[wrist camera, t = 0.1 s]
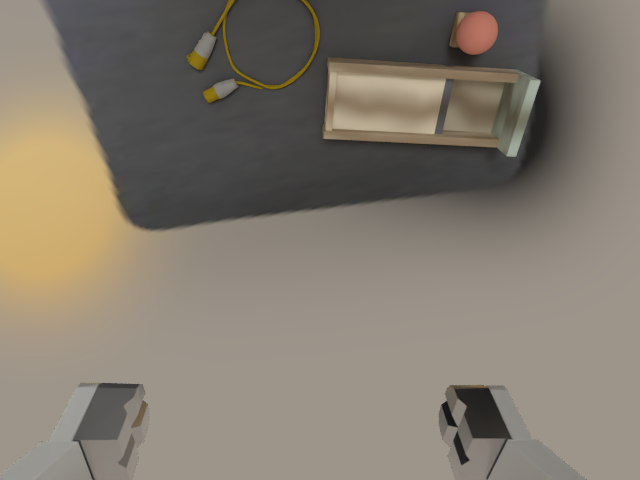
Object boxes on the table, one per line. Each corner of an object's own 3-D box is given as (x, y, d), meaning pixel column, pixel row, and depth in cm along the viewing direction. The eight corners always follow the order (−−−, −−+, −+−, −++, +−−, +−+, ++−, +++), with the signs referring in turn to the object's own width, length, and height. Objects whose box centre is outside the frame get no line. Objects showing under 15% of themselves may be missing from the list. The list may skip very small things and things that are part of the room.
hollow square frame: (456, 11, 50) (459, 12, 49) (486, 13, 50) (490, 14, 49) (449, 45, 52) (452, 46, 51) (478, 47, 52) (481, 49, 51)
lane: (327, 57, 52) (331, 67, 47) (517, 69, 54) (540, 80, 49) (322, 130, 57) (324, 147, 52) (496, 139, 59) (515, 156, 54)
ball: (456, 7, 49) (469, 11, 45) (493, 10, 50) (509, 14, 46) (447, 49, 52) (459, 56, 48) (483, 52, 52) (497, 59, 48)
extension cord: (173, -10, 48) (168, -9, 46) (315, -25, 48) (316, -25, 46) (199, 101, 55) (196, 106, 53) (324, 88, 55) (325, 93, 53)
